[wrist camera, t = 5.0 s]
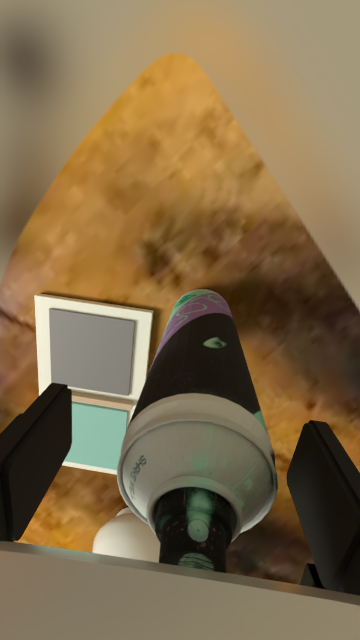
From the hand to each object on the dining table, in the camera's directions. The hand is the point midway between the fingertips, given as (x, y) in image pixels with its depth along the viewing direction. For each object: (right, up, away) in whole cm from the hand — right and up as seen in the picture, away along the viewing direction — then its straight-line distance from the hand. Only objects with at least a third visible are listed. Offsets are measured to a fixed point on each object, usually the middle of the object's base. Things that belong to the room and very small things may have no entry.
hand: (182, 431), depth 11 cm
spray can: (+2, +5, +15) cm, 16 cm away
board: (-9, -3, +18) cm, 21 cm away
